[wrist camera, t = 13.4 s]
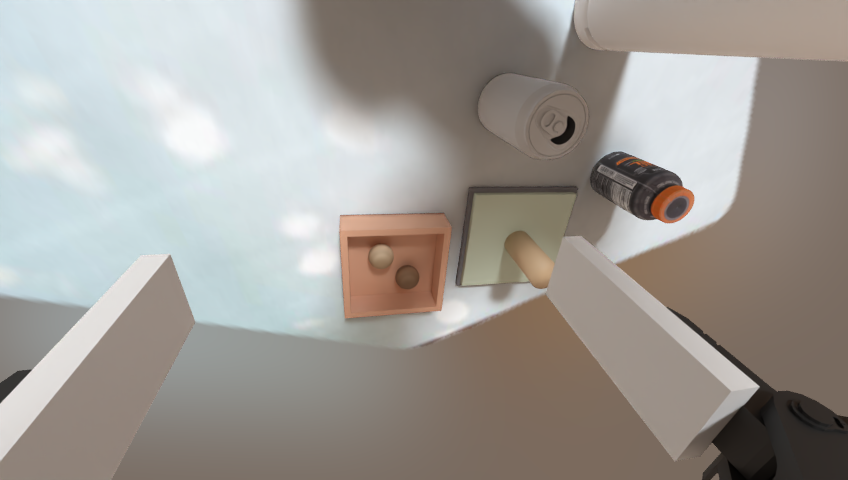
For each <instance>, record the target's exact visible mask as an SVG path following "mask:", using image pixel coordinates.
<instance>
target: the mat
mask: <svg viewBox="0 0 848 480" xmlns="http://www.w3.org/2000/svg"><path fill="white" fill-rule="evenodd" d="M577 190H578V188H577V187H469V194H468V201H467V208H466V215H465V222H464V229H463V235H462V242H461V249H460V256H459V263H458V270H457V277H456V285H461V283H460V282H461V275H462V269H463V262H464V256H465V249H466V242H467V236H468V229H469V223H470V216H471V210H472V203H473V197H474V193H527V192H574V193H577Z"/></svg>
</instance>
